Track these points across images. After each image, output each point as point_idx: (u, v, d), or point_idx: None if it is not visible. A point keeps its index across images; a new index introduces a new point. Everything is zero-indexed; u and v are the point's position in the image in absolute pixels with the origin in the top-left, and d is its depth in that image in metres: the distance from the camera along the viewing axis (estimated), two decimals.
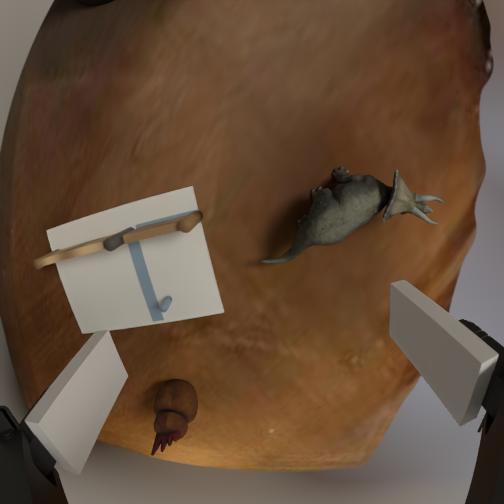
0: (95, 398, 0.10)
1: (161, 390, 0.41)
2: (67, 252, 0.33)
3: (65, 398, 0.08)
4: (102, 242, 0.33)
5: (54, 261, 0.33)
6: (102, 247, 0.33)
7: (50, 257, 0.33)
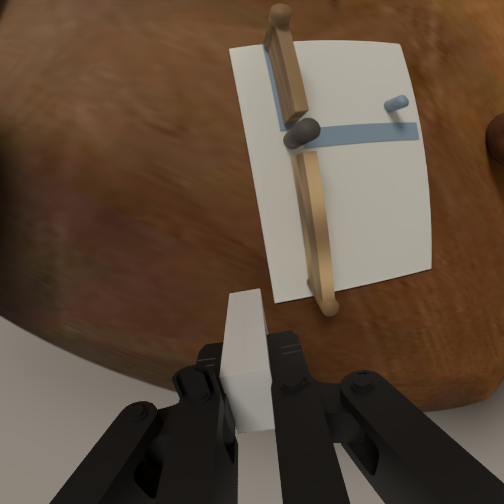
0: None
1: None
2: (317, 232, 0.21)
3: None
4: (304, 152, 0.20)
5: (329, 266, 0.22)
6: (313, 153, 0.20)
7: (322, 274, 0.22)
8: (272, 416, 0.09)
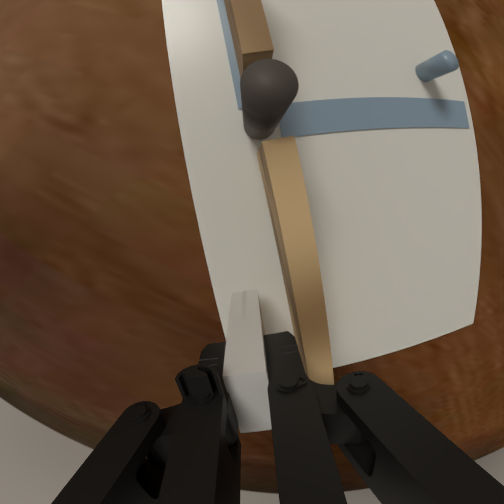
0: None
1: None
2: (301, 313, 0.10)
3: None
4: None
5: (328, 370, 0.11)
6: (286, 142, 0.09)
7: None
8: (269, 417, 0.09)
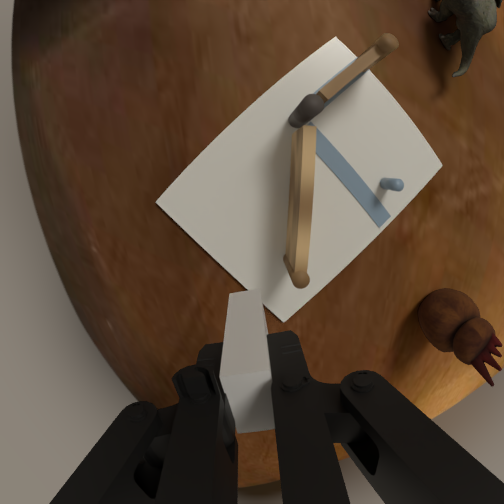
0: None
1: (430, 314, 0.28)
2: (301, 201, 0.22)
3: None
4: (305, 126, 0.20)
5: (307, 238, 0.23)
6: (312, 128, 0.20)
7: (298, 244, 0.23)
8: (272, 416, 0.09)
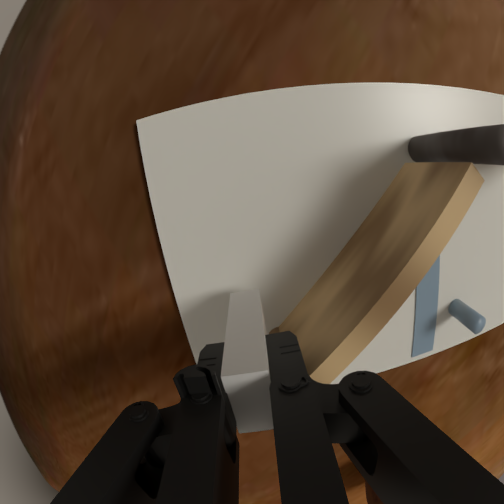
0: None
1: None
2: (392, 287, 0.10)
3: None
4: None
5: (354, 354, 0.10)
6: (479, 178, 0.09)
7: (333, 356, 0.10)
8: (271, 416, 0.09)
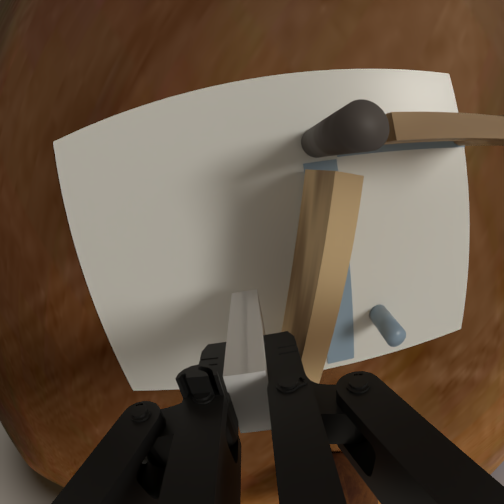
0: None
1: None
2: (311, 332, 0.11)
3: None
4: None
5: None
6: (355, 179, 0.09)
7: None
8: (269, 417, 0.09)
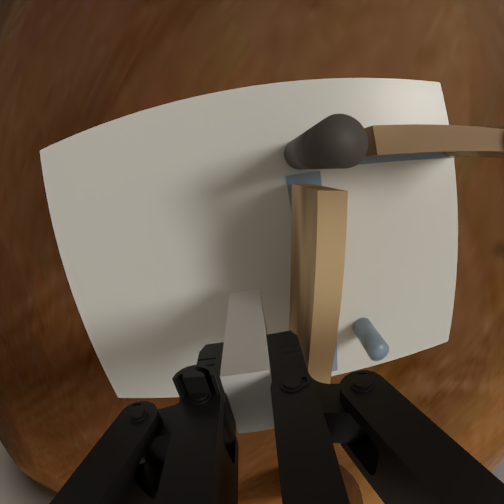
0: None
1: None
2: (313, 350, 0.11)
3: None
4: None
5: None
6: (339, 195, 0.09)
7: None
8: (272, 416, 0.09)
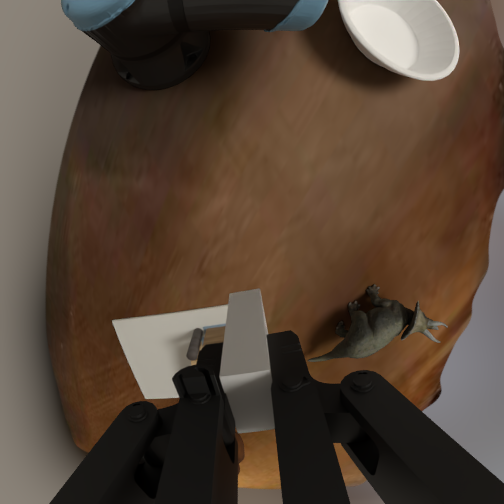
0: None
1: None
2: None
3: None
4: None
5: None
6: (195, 361, 0.42)
7: None
8: (272, 416, 0.09)
